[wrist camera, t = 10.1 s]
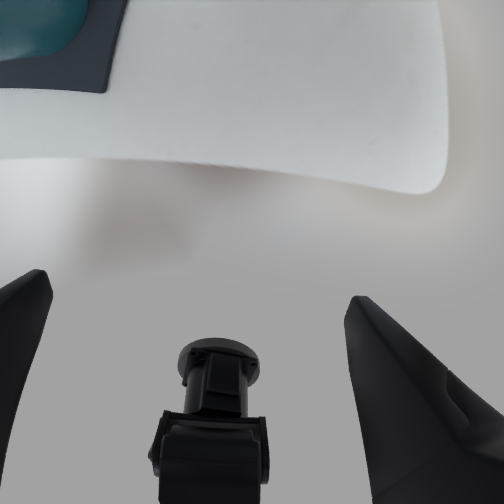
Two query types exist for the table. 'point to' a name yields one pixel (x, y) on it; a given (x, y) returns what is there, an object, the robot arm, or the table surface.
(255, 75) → the table surface
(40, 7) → the can
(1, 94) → the table surface
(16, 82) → the mat
